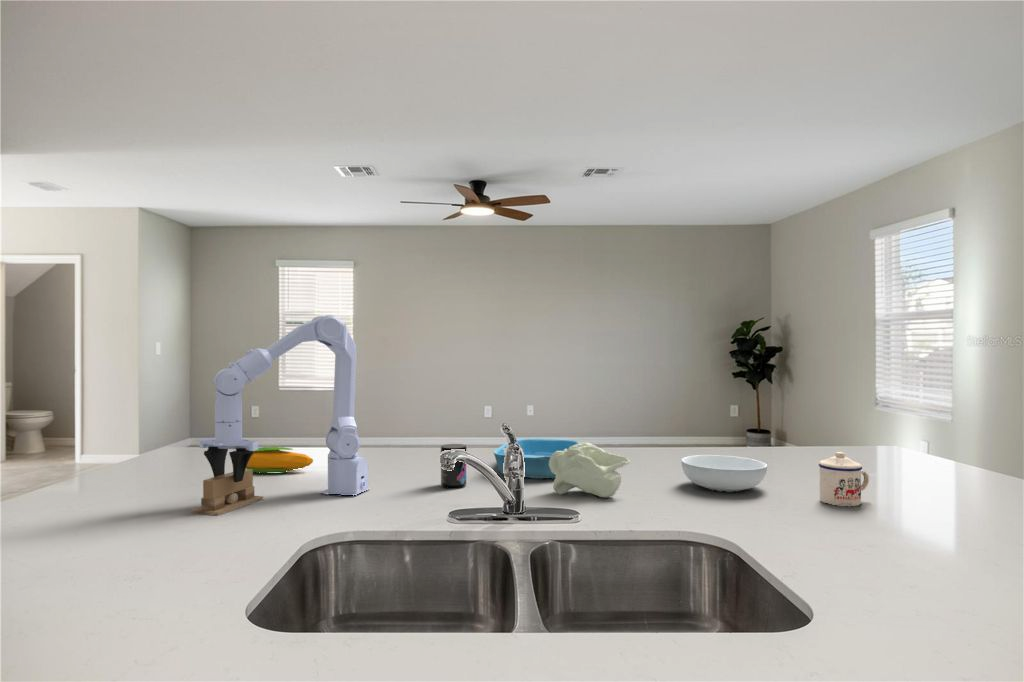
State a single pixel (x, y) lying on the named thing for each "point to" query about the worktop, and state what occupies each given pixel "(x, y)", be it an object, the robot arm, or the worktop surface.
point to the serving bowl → (724, 472)
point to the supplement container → (457, 475)
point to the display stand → (227, 502)
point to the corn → (276, 460)
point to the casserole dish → (536, 455)
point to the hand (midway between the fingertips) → (228, 480)
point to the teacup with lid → (841, 481)
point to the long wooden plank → (226, 484)
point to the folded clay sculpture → (586, 470)
